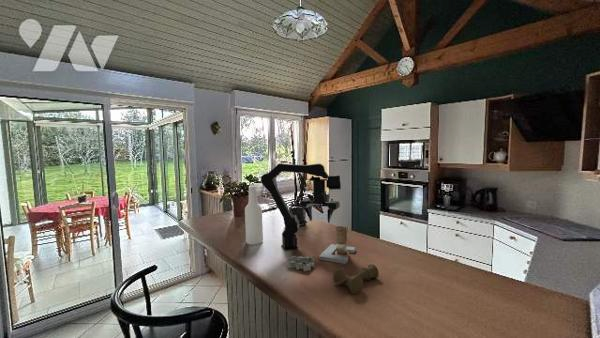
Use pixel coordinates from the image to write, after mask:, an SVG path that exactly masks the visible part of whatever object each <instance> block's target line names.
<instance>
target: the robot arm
mask: <svg viewBox="0 0 600 338" xmlns="http://www.w3.org/2000/svg"><path fill="white" fill-rule="evenodd" d="M282 172H285V173H301V174H308V175H310V176H311V177H310V178H308V181H309V182H312V189H313V190H312V191H313V192H312V193H311V195H312V196H313V198H312V199H302V200H300V202H299V207H300V208H302V209H303V210H304V211H305V213H306V214H307V217H308V219H309V221H311V222H312V221H313V214H312V213H313V212H312V211H313V209H312V208H313V206H314V207H315V206H317V207H326V208H328V209H327V223H328V224H329V223H330V222H331V219H332V217H333V216H332V215H333V213H334V212H335V211H336V210H337V209H339V208H340V206H341V204H340V202H339V201H337V200H331V201H330V195H328V194H327V191H326V189H328V190H330V191H331V190H332V191H333V190H335V191H336V190H338V191H339V190H341V188H342V187H341V186H342V185H341V184H342V183H341V176H340V175H339V174H336V175H329V174H328V173H327V172H326V169H325V166H324V165H323V164H322V163H312V164H291V163H278V164H276V165H275V167H273V168H272V169H271V170H270V171H268V172H267V173H264V174H262V175H261V177H260V182H261V184H262V185H263V187H264V188H265V189H266V190H267V191H268V192H269V194H270V195H271V198H273V200H274V202H275V205H276V207H277V208H278V210H279V212H280V214H281V216H282V218H283V223H284V228H283V231H282V233H281V237H282V239H281V241H282V243H281V245H280V246H281V248H283V250H285V251H289V250H294V249H298V237H297V234H296V233H298V231H299V228H300V220H299V219H298V216H297V214H293V213H291V212H290V209H289V207H288V205H287V204H286V201H285V199H284V198H283V195H282V194H281V192H280V190H279V188H278V184H277V180H276V178H277V176H279V175H281V173H282Z"/></svg>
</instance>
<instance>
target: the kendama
mask: <svg viewBox="0 0 600 338" xmlns="http://www.w3.org/2000/svg"><path fill="white" fill-rule="evenodd" d="M378 277H379V269H378V267H377V266H376V265H375V264H368V265H367V267H362V268H361V270H360V271H359V272H357V273H356V274H354V275H352V276H350V275H348V274H347V272H346V270H345V269H344V268H342V267H341V268H338V269H336V270H335V271H334V273H333V277H332V279H333V286H334V287H336V286H341V285H345V286H347V287H348V288H349V291H350V293H351V294H353V295H358V294H359V293H360V292H361V291H362V289H363V287H364V280H366V281H369V280H370V279H378Z"/></svg>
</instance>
